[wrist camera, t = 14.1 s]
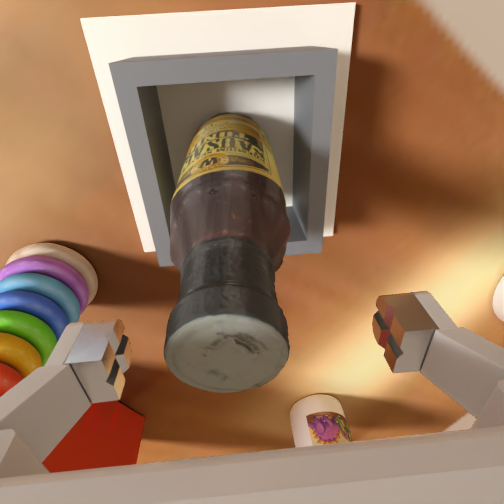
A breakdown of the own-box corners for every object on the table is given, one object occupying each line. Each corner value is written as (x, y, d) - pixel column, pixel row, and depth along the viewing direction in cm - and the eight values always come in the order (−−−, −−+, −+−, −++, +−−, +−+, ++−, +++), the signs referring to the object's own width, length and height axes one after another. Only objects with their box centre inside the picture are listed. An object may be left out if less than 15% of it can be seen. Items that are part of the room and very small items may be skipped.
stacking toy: (71, 315, 35) (-46, 536, 20) (-4, 273, 32) (-220, 503, 16) (117, 273, 33) (24, 488, 17) (40, 222, 29) (-164, 436, 14)
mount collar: (352, 3, 22) (395, -8, 17) (331, 232, 32) (354, 273, 27) (83, 18, 22) (36, 13, 16) (145, 248, 32) (130, 293, 26)
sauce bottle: (257, 97, 24) (332, 249, 8) (276, 174, 28) (355, 386, 12) (174, 124, 25) (90, 315, 9) (203, 196, 29) (182, 426, 12)
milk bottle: (315, 427, 52) (361, 613, 35) (278, 413, 49) (308, 609, 32) (351, 402, 49) (419, 592, 32) (313, 385, 46) (367, 586, 29)
